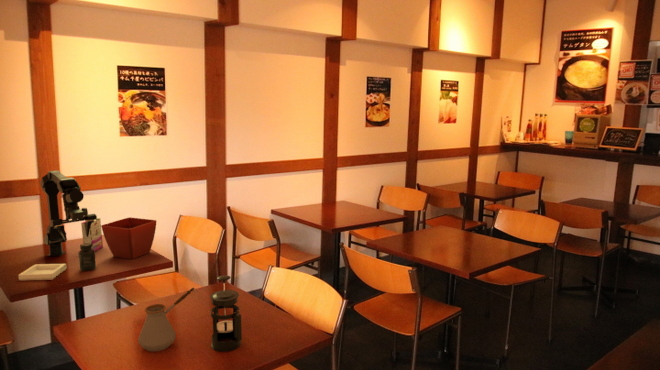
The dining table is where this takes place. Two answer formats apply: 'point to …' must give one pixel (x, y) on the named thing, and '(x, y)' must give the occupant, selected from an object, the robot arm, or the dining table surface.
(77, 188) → the robot arm
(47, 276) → the tray
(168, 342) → the coffee pot
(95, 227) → the candy bar box
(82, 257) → the supplement bottle
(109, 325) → the dining table surface
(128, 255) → the plant pot
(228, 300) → the french press
